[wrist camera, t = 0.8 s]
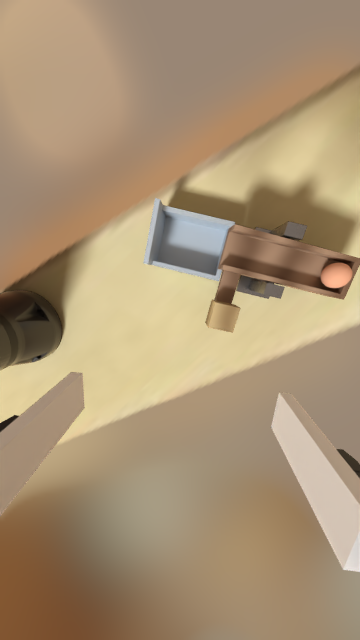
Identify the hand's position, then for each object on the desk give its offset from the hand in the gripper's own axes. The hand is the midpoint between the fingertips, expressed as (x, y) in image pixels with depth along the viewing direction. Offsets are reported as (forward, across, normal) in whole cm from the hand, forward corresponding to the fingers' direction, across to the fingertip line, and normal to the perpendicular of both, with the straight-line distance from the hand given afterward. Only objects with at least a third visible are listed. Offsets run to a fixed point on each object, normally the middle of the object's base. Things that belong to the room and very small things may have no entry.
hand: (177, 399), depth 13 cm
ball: (+19, +19, +9) cm, 28 cm away
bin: (+26, 0, +12) cm, 29 cm away
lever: (+19, +13, +6) cm, 24 cm away
